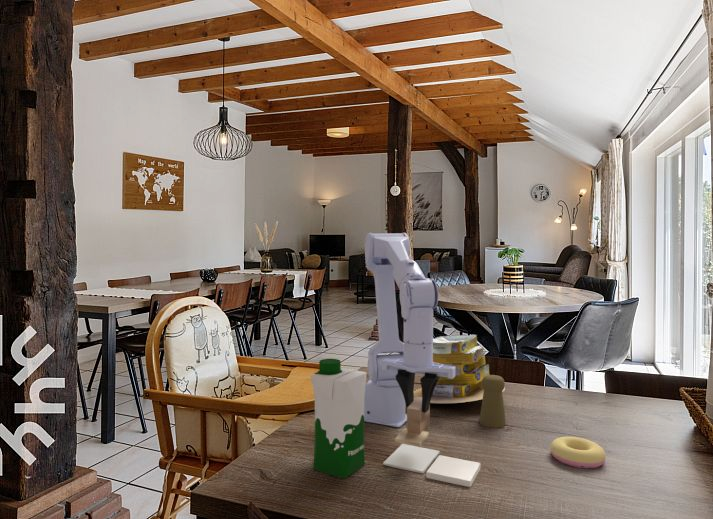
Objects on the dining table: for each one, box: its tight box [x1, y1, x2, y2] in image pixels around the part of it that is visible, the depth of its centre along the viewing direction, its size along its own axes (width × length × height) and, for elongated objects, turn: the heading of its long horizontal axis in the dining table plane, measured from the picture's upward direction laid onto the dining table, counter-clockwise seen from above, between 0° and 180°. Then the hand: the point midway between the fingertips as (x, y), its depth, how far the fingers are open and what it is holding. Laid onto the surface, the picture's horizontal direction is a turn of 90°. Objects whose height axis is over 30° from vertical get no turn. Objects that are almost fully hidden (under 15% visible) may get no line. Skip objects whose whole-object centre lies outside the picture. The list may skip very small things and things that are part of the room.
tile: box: [425, 454, 482, 488], centre depth 97 cm, size 8×1×8 cm
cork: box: [478, 374, 507, 429], centre depth 122 cm, size 6×6×11 cm
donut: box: [549, 436, 607, 469], centre depth 103 cm, size 10×5×9 cm
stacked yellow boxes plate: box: [414, 334, 506, 405], centre depth 140 cm, size 25×25×17 cm
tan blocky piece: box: [394, 397, 431, 447], centre depth 103 cm, size 10×5×6 cm, turn 154°
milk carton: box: [310, 358, 368, 480], centre depth 99 cm, size 9×9×20 cm
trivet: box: [382, 443, 441, 474], centre depth 103 cm, size 8×10×1 cm
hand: (417, 409), depth 104 cm, fingers closed on tan blocky piece, 3 cm apart
